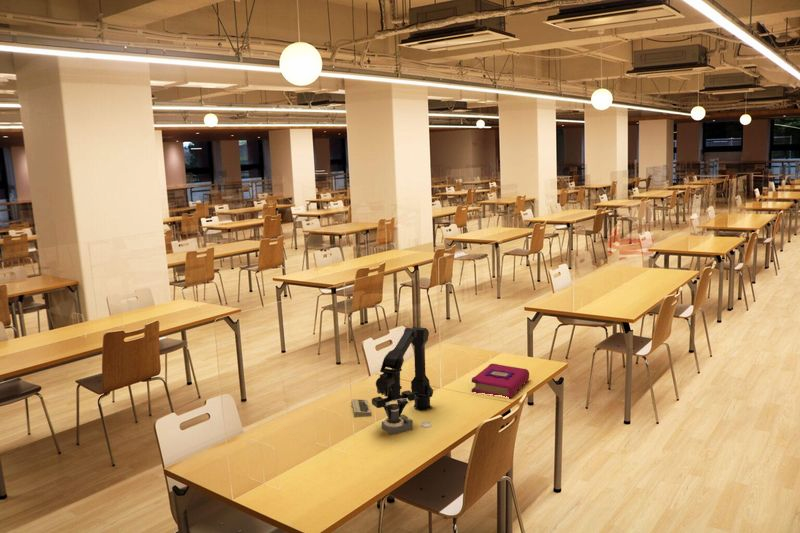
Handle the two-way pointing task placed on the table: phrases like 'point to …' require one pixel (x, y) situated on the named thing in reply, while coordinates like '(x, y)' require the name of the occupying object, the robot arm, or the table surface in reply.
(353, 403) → the computer
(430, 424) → the pale white disc
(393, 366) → the robot arm
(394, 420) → the lens
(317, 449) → the table surface
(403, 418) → the camera body
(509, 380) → the book
